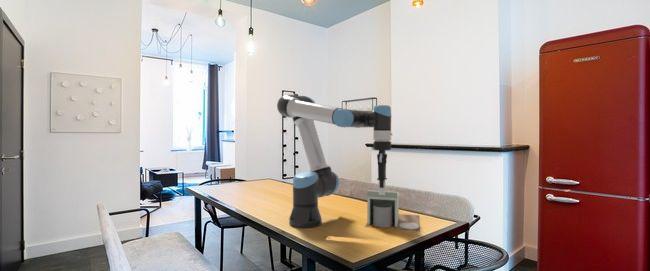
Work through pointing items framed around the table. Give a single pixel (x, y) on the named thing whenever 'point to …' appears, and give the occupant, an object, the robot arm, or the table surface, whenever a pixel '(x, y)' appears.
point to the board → (405, 221)
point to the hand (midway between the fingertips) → (382, 194)
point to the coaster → (409, 225)
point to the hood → (388, 198)
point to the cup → (382, 215)
